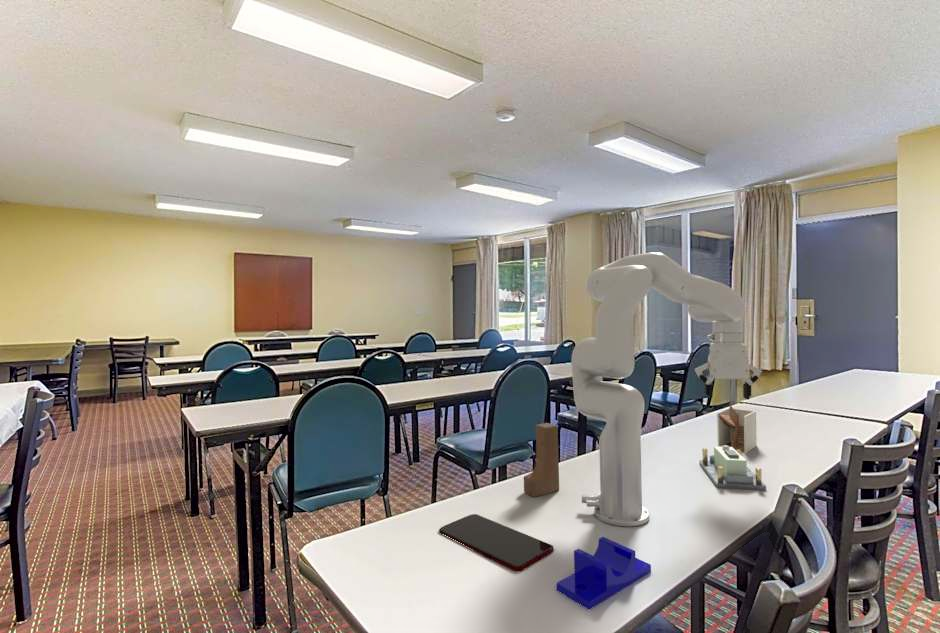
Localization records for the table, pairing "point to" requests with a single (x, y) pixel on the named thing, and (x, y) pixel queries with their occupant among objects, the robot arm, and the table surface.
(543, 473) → the wooden block
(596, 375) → the robot arm
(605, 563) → the mounting bracket
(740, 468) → the pale green block
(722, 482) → the chassis
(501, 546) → the smartphone
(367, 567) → the table surface
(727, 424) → the staircase
